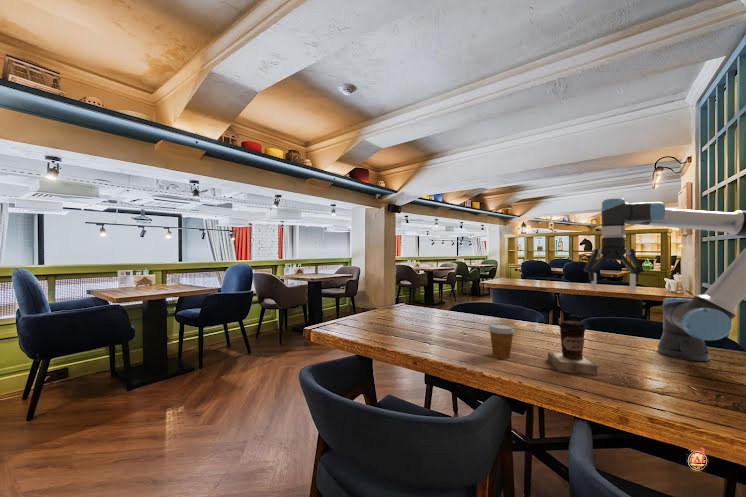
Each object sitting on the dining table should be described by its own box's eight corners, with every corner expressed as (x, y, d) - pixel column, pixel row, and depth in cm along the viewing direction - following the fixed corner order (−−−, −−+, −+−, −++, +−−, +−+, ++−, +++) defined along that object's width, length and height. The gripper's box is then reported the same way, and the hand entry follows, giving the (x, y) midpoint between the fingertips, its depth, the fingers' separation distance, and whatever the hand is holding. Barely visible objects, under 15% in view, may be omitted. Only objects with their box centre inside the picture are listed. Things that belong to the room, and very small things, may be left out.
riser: (583, 362, 119) (583, 353, 119) (597, 374, 108) (597, 365, 108) (548, 359, 122) (548, 351, 122) (558, 371, 111) (558, 361, 111)
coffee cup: (591, 362, 110) (591, 325, 110) (565, 361, 111) (565, 324, 111) (579, 354, 118) (580, 320, 118) (555, 353, 120) (555, 319, 120)
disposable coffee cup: (514, 354, 129) (514, 324, 129) (514, 361, 120) (514, 330, 120) (489, 350, 133) (489, 322, 133) (487, 357, 124) (487, 327, 124)
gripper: (643, 237, 128) (643, 289, 128) (574, 237, 134) (574, 287, 134) (655, 236, 121) (655, 291, 121) (581, 236, 127) (581, 289, 127)
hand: (613, 289), depth 127 cm, fingers open, 13 cm apart
